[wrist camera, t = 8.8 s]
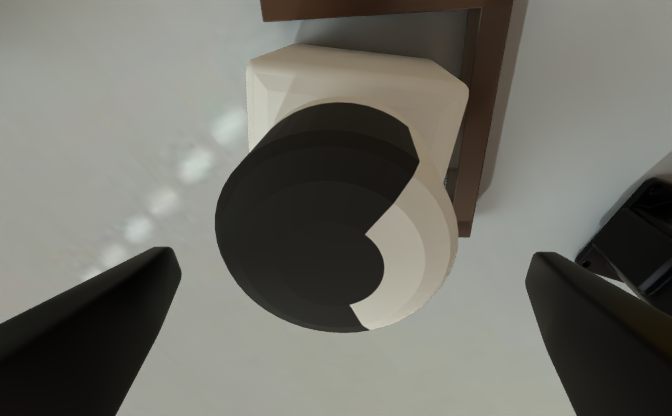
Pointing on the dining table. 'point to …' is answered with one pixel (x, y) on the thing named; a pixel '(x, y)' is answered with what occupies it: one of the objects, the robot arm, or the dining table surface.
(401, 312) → the medicine bottle
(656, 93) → the dining table surface
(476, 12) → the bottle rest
